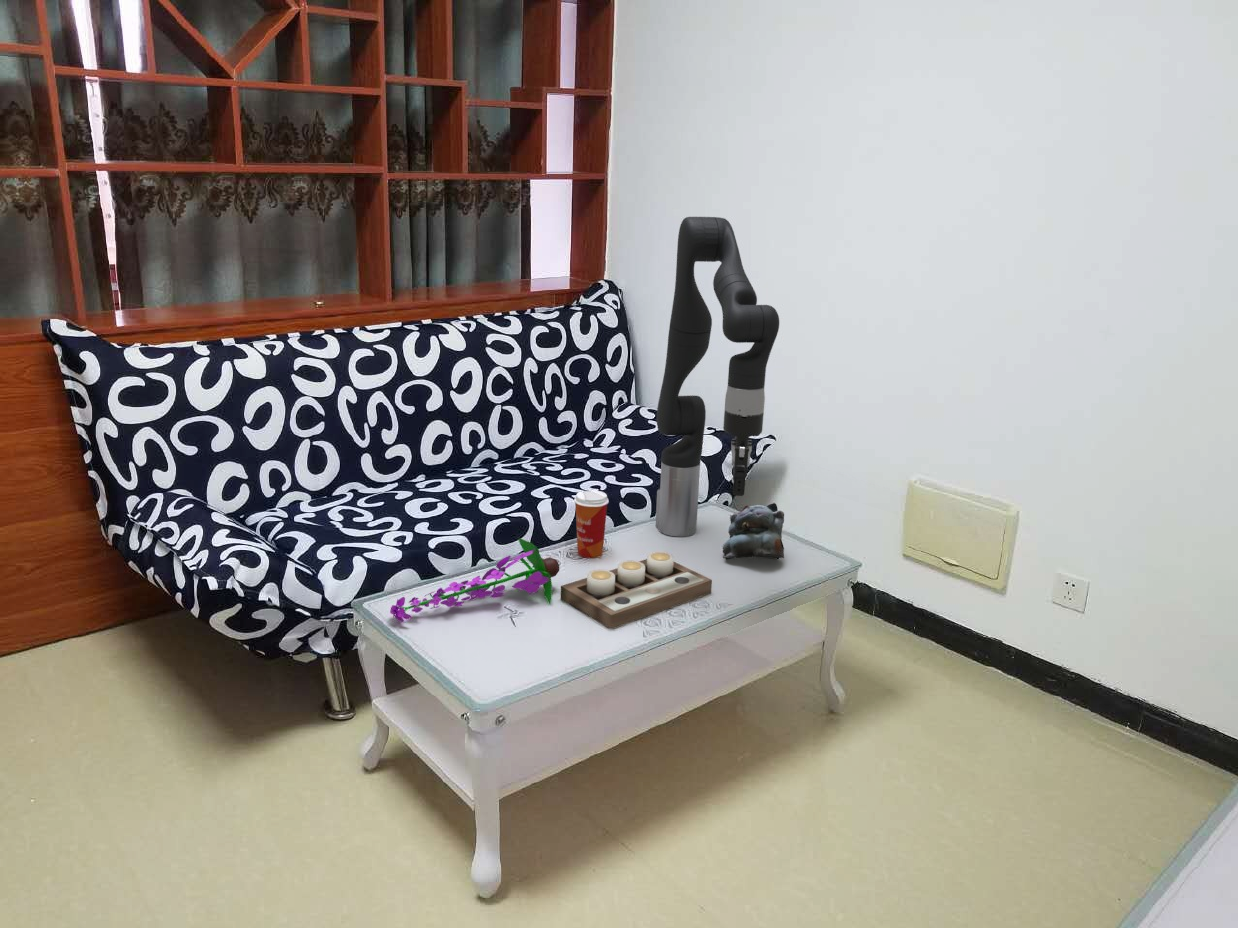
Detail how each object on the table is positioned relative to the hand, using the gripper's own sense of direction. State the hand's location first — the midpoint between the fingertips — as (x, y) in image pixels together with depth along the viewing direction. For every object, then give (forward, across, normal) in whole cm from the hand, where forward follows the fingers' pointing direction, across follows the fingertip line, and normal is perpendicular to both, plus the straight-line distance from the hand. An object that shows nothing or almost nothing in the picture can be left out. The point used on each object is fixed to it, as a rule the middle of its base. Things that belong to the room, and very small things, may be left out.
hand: (738, 487), depth 191 cm
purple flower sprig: (+25, +13, -49) cm, 56 cm away
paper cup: (+24, -18, -32) cm, 44 cm away
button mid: (+21, +1, -21) cm, 29 cm away
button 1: (+21, +7, -26) cm, 34 cm away
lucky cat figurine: (+24, -23, +4) cm, 34 cm away
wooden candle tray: (+24, +3, -19) cm, 31 cm away
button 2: (+21, -5, -15) cm, 26 cm away
